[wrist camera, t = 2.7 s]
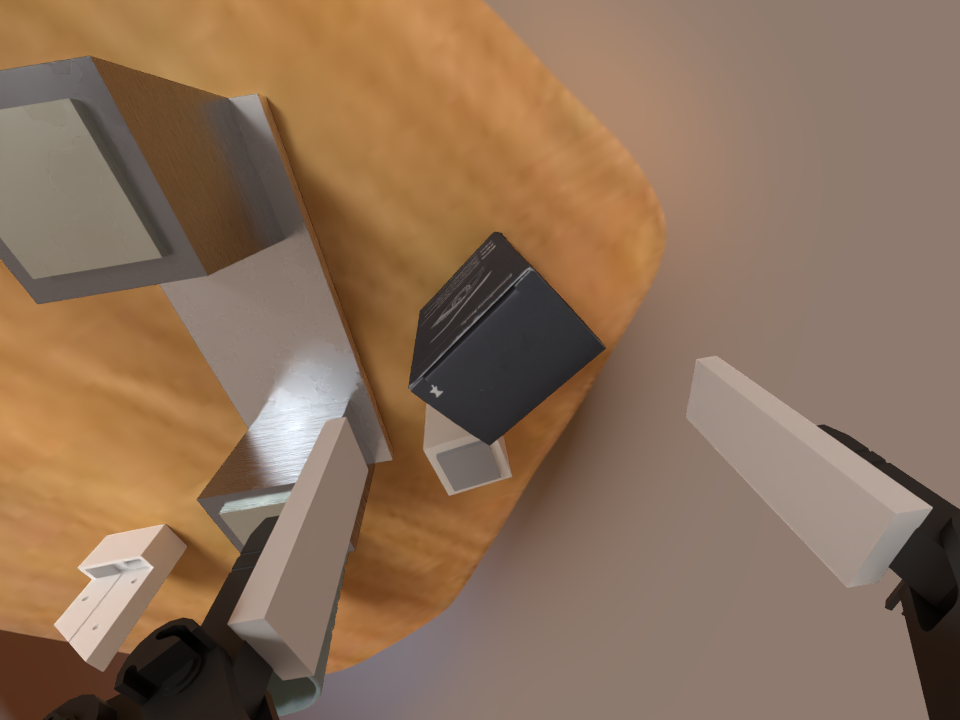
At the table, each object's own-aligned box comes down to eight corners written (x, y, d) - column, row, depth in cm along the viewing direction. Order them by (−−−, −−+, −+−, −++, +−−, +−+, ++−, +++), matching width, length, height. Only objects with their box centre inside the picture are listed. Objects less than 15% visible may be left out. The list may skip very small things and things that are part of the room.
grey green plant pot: (363, 565, 39) (333, 711, 29) (269, 574, 39) (204, 727, 28) (344, 504, 34) (301, 653, 24) (236, 513, 34) (143, 671, 23)
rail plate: (79, 127, 19) (-205, 97, 10) (265, 96, 19) (127, 43, 11) (283, 470, 31) (227, 578, 23) (393, 452, 32) (376, 552, 23)
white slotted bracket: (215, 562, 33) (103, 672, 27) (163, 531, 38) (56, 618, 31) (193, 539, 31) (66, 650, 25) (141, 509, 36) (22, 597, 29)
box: (473, 355, 28) (487, 454, 18) (417, 309, 25) (401, 394, 16) (550, 282, 25) (613, 352, 16) (496, 225, 23) (532, 266, 14)
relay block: (426, 398, 29) (422, 454, 24) (483, 380, 29) (493, 431, 23) (448, 441, 32) (449, 500, 26) (501, 424, 31) (513, 480, 26)
